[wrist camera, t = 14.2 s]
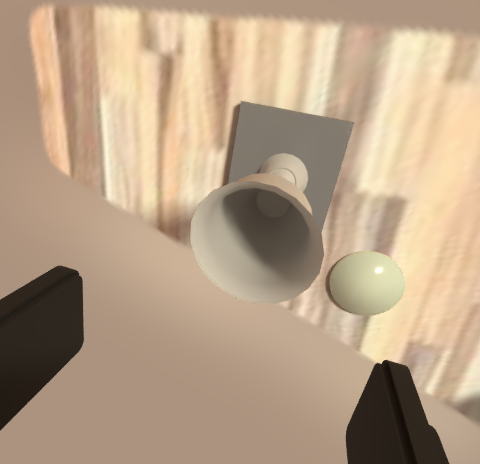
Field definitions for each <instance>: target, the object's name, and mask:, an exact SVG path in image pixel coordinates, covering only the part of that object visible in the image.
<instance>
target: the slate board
mask: <svg viewBox="0 0 480 464" xmlns="http://www.w3.org/2000/svg"><path fill="white" fill-rule="evenodd" d="M353 124H354V122H349V121H344V120H338V119H333V118H328V117H323V116H317V115H312V114H307V113H302V112H296V111H291V110H286V109H281V108H275V107H270V106H265V105H260V104H254V103H249V102H244V101H241V105H240V111H239V117H238V123H237V130H236V136H235V142H234V148H233V155H232V161H231V167H230V173H229V179H228V184H230V183H232V182H237V181H238V180H239V179H242V178H244V177H246V176H249V175H251V174H260V169H261V167H262V165H263V164H264V162H265V161H266V160H267V159H268V158H270V157H272V156H274V155H276V154H282V153H286V154H291V155H293V156H295V157H297V158H299V159H300V160H301V161H302V163H303V164H304V165H305V167H306V170H307V173H308V182H307V186H306V188H305V190H304V191H303V194H304V195H305V196H306V198H307V200H308V202H309V204H310V206H311V209H312V216H313V218H314V220H315V222H316V224H317V226H318V228H319V230H320V232H322V228H323V225H324V222H325V218H326V215H327V212H328V208H329V205H330V202H331V198H332V195H333V191H334V188H335V185H336V181H337V178H338V175H339V171H340V168H341V164H342V161H343V158H344V154H345V151H346V148H347V144H348V141H349V138H350V134H351V131H352V127H353Z"/></svg>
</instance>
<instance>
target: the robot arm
mask: <svg viewBox="0 0 480 464" xmlns="http://www.w3.org/2000/svg"><path fill="white" fill-rule="evenodd" d="M82 286H83V284H82V278H81V276H79V273H78V271H76V270H74V269H70V268H67V267H64V266H57V267H55V268H53V269H51V270H50V271H48V272H46V273H45V274H43V275H41V276H40V277H38V278H36V279H35V280H33V281H31V282H29V283H28V284H26V285H25V286H23V287H21V288H19V289H18V290H16V291H14V292H13V293H11V294H9V295H8V296H6V297H4V298H2V299H1V300H0V430H1V429H2V428H3V427H4V426H5V425H6V424H7V423H8V422H9V421H10V420H11V419H12V418H13V417H14V416H15V415H16V414H17V413H18V412H19V411H20V410H21V409H22V408H23V407H24V406H25V405H26V404H27V403H28V402H29V401H30V400H31V399H32V398H33V397H34V396H35V395H36V394H37V393H38V392H39V391H40V390H41V389H42V388H43V387H44V386H45V385H46V384H47V383H48V382H49V381H50V380H51V379H52V378H53V377H54V376H55V375H56V374H57V373H58V372H59V371H60V370H61V369H62V368H63V367H64V366H65V365H66V364H67V363H68V362H69V361H70V360H71V359H72V358H73V357H74V356H75V355H76V354H77V353H78V352H79V350H80V349H81V347H82V345H83V341H84V334H83V333H84V331H83V287H82ZM346 447H347V459H348V464H449V462H448V459H447V457H446V454H445V452H444V449H443V446H442V444H441V441H440V438H439V436H438V434H437V432H436V430H435V429H434V428H433V427H432V426H430V425H429V424H428V421H427V419H426V415H425V413H424V410H423V407H422V405H421V401H420V399H419V396H418V393H417V390H416V387H415V385H414V382H413V379H412V376H411V373H410V371H409V369H408V367H407V366H405V365H402V364H398V363H395V362H391V361H388V360H384V361H383V362H382V364H379V363H376V364H375V366H374V368H373V370H372V372H371V375H370V377H369V379H368V381H367V384H366V386H365V389H364V391H363V393H362V395H361V397H360V399H359V402H358V404H357V406H356V408H355V411H354V413H353V415H352V417H351V420H350V422H349V424H348V427H347V431H346Z"/></svg>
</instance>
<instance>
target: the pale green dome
mask: <svg viewBox="0 0 480 464" xmlns="http://www.w3.org/2000/svg"><path fill="white" fill-rule="evenodd" d="M329 283H330V291H331V294H332V296H333V298H334V300H335V301H336V302H337V303H338V304H339V305H340V306H341V307H342V308H344V309H345V310H347V311H349V312H351V313H354V314H358V315H376V314H380V313H383V312H386V311H388V310H389V309H391V308H392V307H394V306H395V305H396V304H397V303H398V302H399V300H400V299H401V297H402V296H403V293H404V290H405V278H404V275H403V272H402V270H401V268H400V267H399V265H398V264H397V263H396V262H395V261H394V260H393V259H392V258H390V257H388V256H387V255H384V254H382V253H379V252H374V251H360V252H355V253H352V254H350V255H348V256H346V257H344V258H343V259H341V260H340V261H339V262H338V263H337V264H336V265H335V267H334V268H333V270H332V272H331V275H330V281H329Z"/></svg>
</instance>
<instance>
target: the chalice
mask: <svg viewBox="0 0 480 464" xmlns="http://www.w3.org/2000/svg"><path fill="white" fill-rule="evenodd" d="M307 182H308V173H307V170H306V167H305V165H304V164H303V163H302V161H301V160H300V159H299V158H297V157H295V156H293V155H291V154H286V153H282V154H276V155H274V156H272V157H270V158H268V159H267V160H266V161H265V162H264V164H263V165H262V167H261V169H260V174H251V175H249V176H246V177H244V178H242V179H239V180H238V181H237V182H232V183H230V184H227V185H225V186H222V187H220V188H218V189H215V190H213V191H212V192H211V193H210V194H209V195H208V196H207V197H206V198H205V199H204V200H203V201H201V202H200V203H199V205H198V207H197V209H196V212H195V214H194V216H193V218H192V220H191V232H190V242H191V245H192V249H193V253H194V256H195V259H196V260H197V262H198V264H199V265H200V267H201V269H202V270H203V272H204V274H205V275H206V276H207V277H208V278H209V279H210V280H211V281H212V282H214V284H215V285H216V286H217V287H218V288H220V289H222V290H223V291H225V292H227V293H229V294H230V295H232V296H234V297H235V298H239V299H242V300H245V301H249V302H252V303H262V304H263V303H264V304H265V303H266V304H275V303H279V302H283V301H287V300H291V299H293V298H295V297H296V296H298V295H299V294H301V293H302V292H304V291H305V290H307V289H308V288H309V287H310V286H311V284H312V283H313V281H314V280H315V279H316V277H317V276H318V274H319V273H320V269H321V264H322V260H323V256H324V250H323V243H322V235H321V232H320V230H319V228H318V226H317V224H316V222H315V220H314V218H313V216H312V209H311V206H310V204H309V202H308V200H307V198H306V196H305V195H304V194H303V191H304V190H305V188H306V186H307Z"/></svg>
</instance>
